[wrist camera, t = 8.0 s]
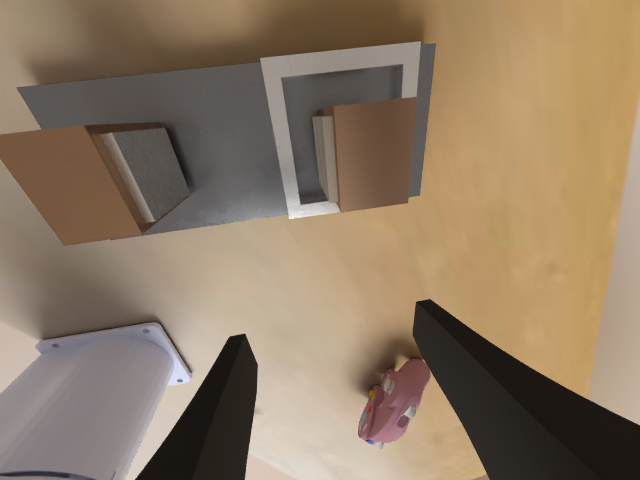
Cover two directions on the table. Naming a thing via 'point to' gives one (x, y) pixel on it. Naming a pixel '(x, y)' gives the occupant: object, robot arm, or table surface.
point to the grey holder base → (201, 140)
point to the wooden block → (365, 152)
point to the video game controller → (393, 403)
